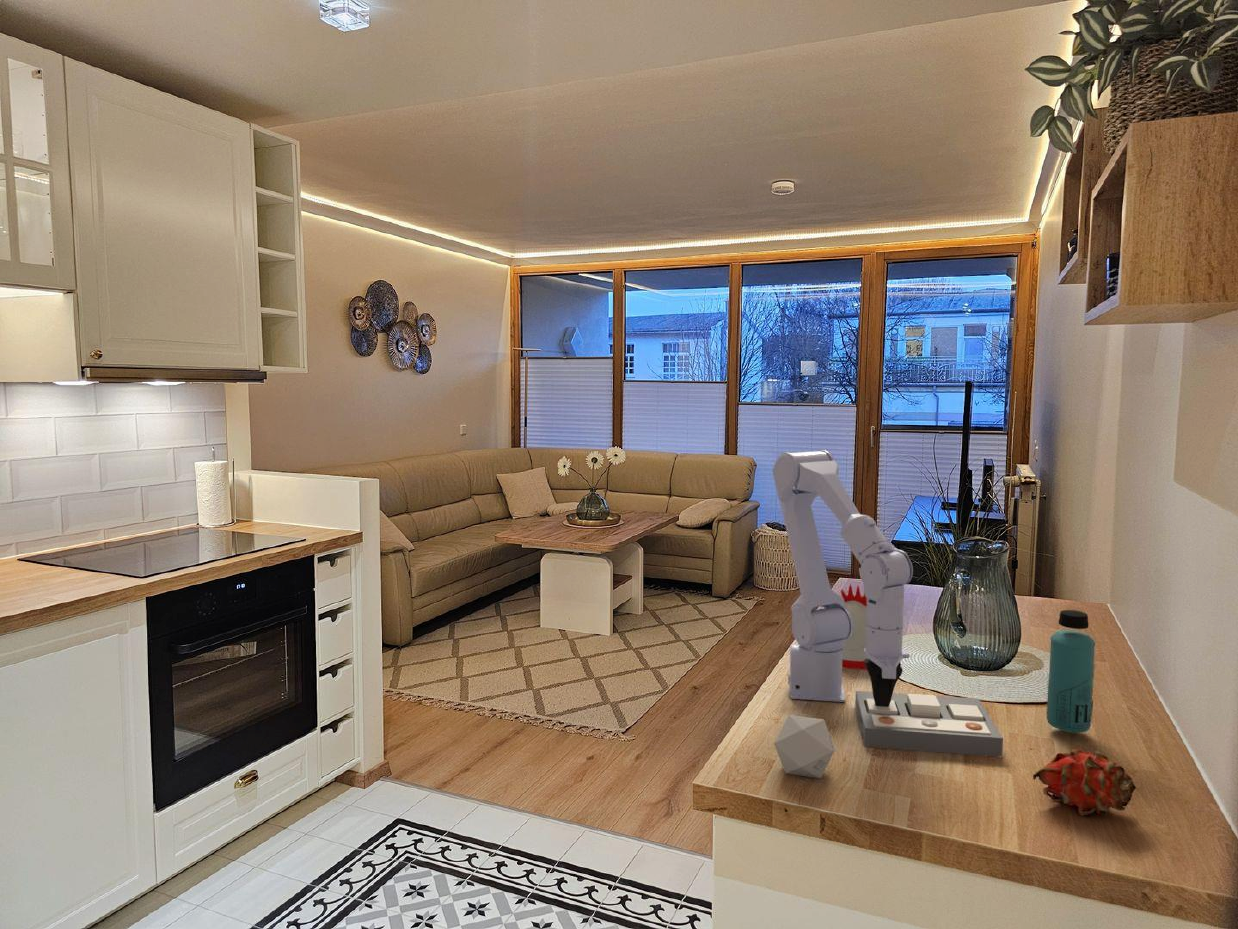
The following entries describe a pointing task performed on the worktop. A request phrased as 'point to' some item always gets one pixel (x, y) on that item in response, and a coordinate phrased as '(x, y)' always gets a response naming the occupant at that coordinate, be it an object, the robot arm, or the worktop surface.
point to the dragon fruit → (1086, 782)
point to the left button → (881, 708)
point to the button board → (928, 728)
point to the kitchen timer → (855, 630)
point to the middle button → (923, 705)
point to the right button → (965, 712)
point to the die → (804, 746)
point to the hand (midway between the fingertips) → (881, 705)
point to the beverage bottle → (1071, 675)
